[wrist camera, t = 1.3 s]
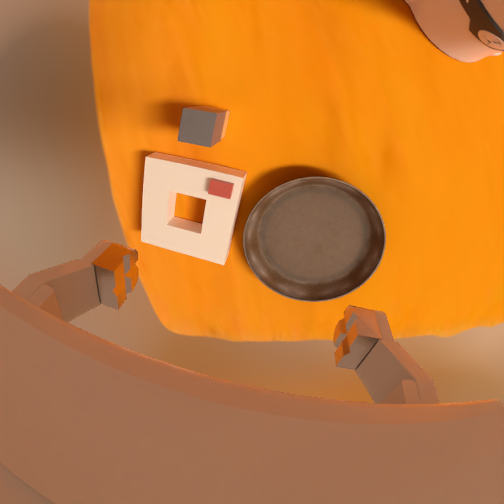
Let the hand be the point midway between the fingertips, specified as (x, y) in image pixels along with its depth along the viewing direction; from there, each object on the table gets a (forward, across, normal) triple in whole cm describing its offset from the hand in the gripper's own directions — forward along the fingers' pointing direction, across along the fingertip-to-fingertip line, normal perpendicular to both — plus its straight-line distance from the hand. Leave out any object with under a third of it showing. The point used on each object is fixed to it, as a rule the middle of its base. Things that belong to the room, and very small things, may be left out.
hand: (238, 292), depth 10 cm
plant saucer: (+30, -8, +11) cm, 33 cm away
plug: (+29, +9, -2) cm, 31 cm away
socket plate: (+30, +10, +11) cm, 33 cm away
